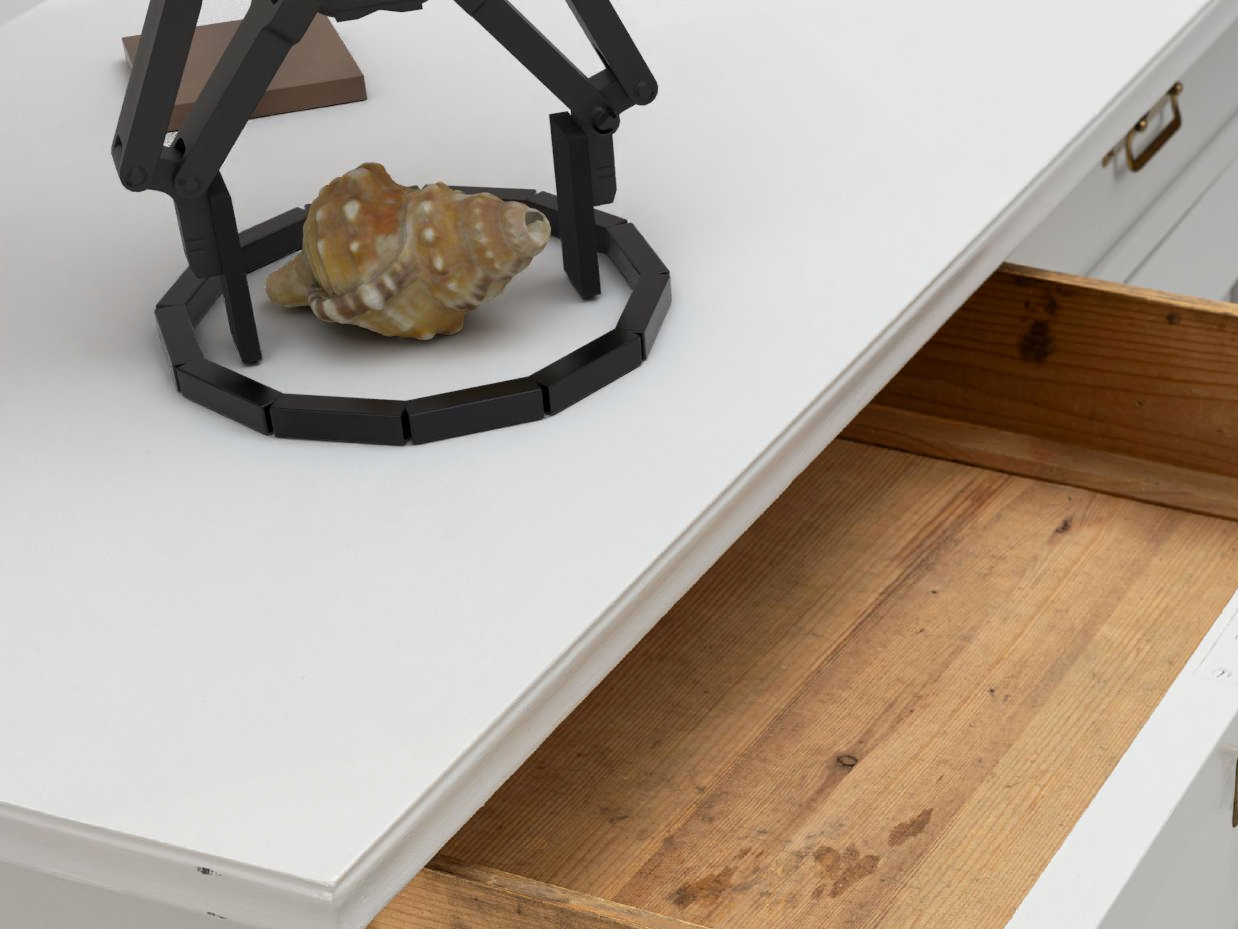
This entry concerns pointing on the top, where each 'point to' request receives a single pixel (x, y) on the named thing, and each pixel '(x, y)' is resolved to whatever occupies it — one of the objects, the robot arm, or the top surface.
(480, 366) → the top surface
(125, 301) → the top surface
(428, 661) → the top surface
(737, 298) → the top surface
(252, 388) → the burner ring
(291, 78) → the walnut board
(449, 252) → the seashell
